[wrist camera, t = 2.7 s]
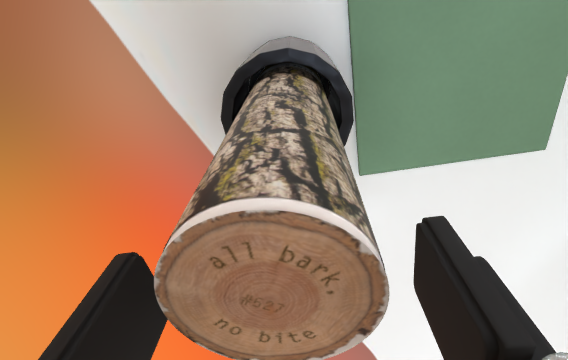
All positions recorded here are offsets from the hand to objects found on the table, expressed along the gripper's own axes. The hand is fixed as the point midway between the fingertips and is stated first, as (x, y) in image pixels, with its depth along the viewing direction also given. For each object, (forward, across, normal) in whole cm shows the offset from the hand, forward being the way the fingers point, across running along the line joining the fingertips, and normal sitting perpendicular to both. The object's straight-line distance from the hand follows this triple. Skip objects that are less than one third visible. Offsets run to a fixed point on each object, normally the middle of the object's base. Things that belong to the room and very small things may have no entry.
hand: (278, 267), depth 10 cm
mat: (+24, -16, 0) cm, 29 cm away
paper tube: (+24, 0, 0) cm, 24 cm away
